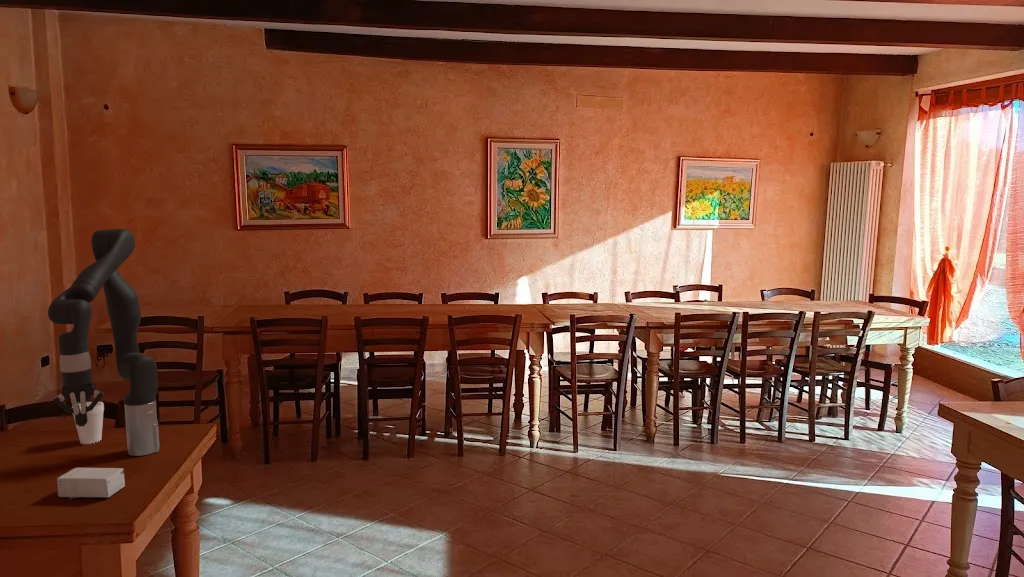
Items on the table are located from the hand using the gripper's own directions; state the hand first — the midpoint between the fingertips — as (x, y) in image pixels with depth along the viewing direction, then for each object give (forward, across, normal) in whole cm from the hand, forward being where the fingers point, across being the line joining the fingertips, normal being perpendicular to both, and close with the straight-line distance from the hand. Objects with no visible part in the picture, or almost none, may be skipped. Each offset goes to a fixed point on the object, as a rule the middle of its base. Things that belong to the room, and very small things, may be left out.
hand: (82, 425), depth 199 cm
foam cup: (+19, +5, -45) cm, 49 cm away
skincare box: (+15, +5, +2) cm, 16 cm away
